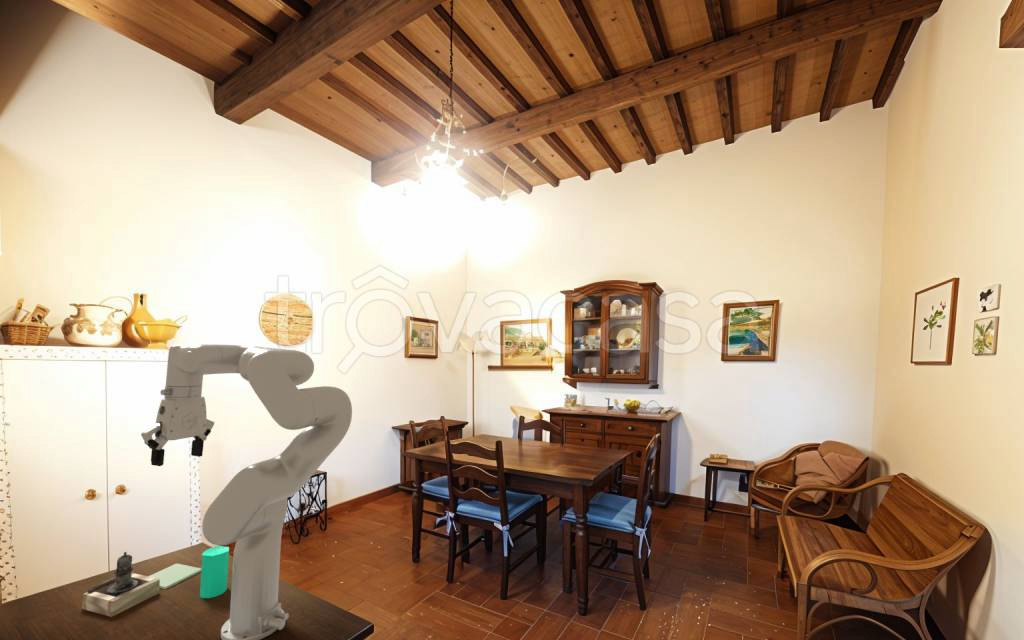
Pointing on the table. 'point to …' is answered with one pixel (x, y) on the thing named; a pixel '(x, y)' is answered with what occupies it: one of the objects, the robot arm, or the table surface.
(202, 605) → the table surface
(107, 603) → the holder
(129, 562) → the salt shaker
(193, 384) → the robot arm
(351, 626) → the table surface
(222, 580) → the candle
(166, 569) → the mat
